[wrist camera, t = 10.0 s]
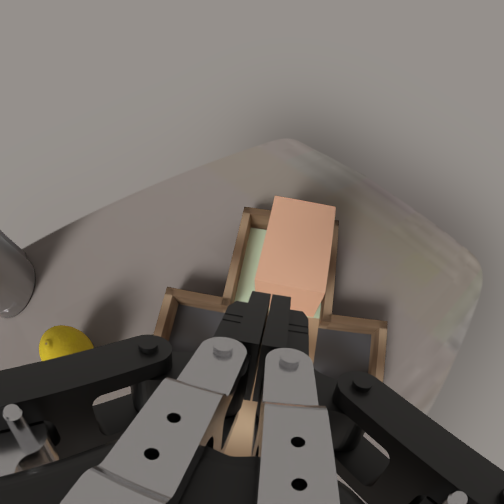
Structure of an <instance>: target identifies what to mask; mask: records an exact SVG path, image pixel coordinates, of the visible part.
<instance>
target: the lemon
mask: <svg viewBox="0 0 504 504" xmlns="http://www.w3.org/2000/svg"><path fill="white" fill-rule="evenodd" d="M93 348H94V347H93V344H92V343H91V341H90V340H89V338H88V337H87V336H86V335H85V334H84V333H82V332H81V331H79V330H77V329H75V328H73V327H69V326H63V325H60V326H54V327H52V328H50V329H48V330H47V331H46V332H45V333H44V334H43V336H42V338H41V340H40V344H39V354H40V357H41V360H42V361H45V360H49V359H53V358H57V357H61V356H65V355H69V354H73V353H77V352H81V351H85V350H89V349H93Z"/></svg>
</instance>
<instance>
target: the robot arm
mask: <svg viewBox="0 0 504 504" xmlns="http://www.w3.org/2000/svg"><path fill="white" fill-rule="evenodd" d="M34 284H35V273H34V269H33V266H32V264H31V262H29V261H28V260H27V259H26V253H25V252H24V251H23V250H22V249H20V248H19V247H18V246H17V245H16V244H15V243H14V242H12V240H10V239H9V238H8V237H7V236H6V235H5V234H4V233H3V232H2V231H1V230H0V316H2V317H5V318H10V317H13V316H15V315H17V314H18V313H20V312H21V311H22V310H23V309H24V307H25V306H26V305H27V303H28V301H29V299H30V297H31V295H32V292H33V288H34ZM270 298H271V294H269V293H263V292H257V291H252V293H251V296H250V298H249V301H248V303H247V302H241V301H235V302H234V303H232V304H230V305H229V306H228V307H227V310H226V312H225V314H224V316H223V318H222V320H221V322H220V324H219V326H218V328H217V330H216V332H215V334H214V336H213V338H209V339H207V340H205V341H203V342H202V343H201V345H200V346H199V347H198V349H197V350H196V351H192V352H172V346H171V344H170V343H169V341H167V340H166V339H164V338H162V337H160V336H156V335H141V336H137V337H133V338H129V339H126V340H122V341H119V342H115V343H111V344H108V345H104V346H100V347H96V348H93V349H89V350H85V351H81V352H77V353H73V354H69V355H65V356H61V357H57V358H53V359H49V360H45V361H41V362H37V363H32V364H28V365H24V366H19V367H15V368H10V369H6V370H1V371H0V504H365V503H364V502H363V501H362V500H361V499H360V498H359V497H358V496H357V495H356V494H355V493H354V492H353V491H352V490H351V489H350V488H348V487H347V486H346V485H344V484H343V483H341V482H340V481H338V480H337V474H338V475H339V476H340V477H341V478H342V479H343V480H344V481H345V482H346V483H347V484H348V485H349V486H350V487H351V488H352V489H353V490H354V491H355V492H356V493H357V494H358V495H359V496H360V497H361V498H362V499H363V500H364V501H366V502H367V503H368V504H504V471H503V470H501V469H500V468H499V467H497V466H496V465H494V464H493V463H491V462H490V461H489V460H487V459H486V458H484V457H483V456H482V455H480V454H479V453H477V452H476V451H474V450H473V449H472V448H470V447H469V446H467V445H466V444H465V443H464V442H462V441H461V440H459V439H458V438H457V437H455V436H454V435H453V434H451V433H450V432H448V431H447V430H446V429H444V428H443V427H442V426H440V425H439V424H437V423H436V422H435V421H433V420H432V419H431V418H429V417H428V416H427V415H425V414H424V413H423V412H421V411H420V410H419V409H417V408H416V407H415V406H413V405H412V404H411V403H409V402H408V401H407V400H405V399H404V398H403V397H401V396H400V395H399V394H397V393H396V392H395V391H393V390H392V389H391V388H389V387H388V386H387V385H385V384H384V383H383V382H381V381H380V380H379V379H377V378H376V377H374V376H373V375H371V374H368V373H365V372H361V371H350V372H346V373H344V374H342V375H341V376H340V377H339V379H338V380H337V379H334V378H331V377H328V376H326V375H323V374H321V373H320V372H318V371H317V370H316V369H314V367H313V362H312V360H311V358H310V357H309V335H308V334H309V328H308V327H309V319H308V318H307V316H306V315H305V314H304V312H303V311H297V310H290V306H291V297H288V296H282V295H275V294H273V295H272V299H271V304H270ZM269 305H270V308H269ZM268 311H269V313H268ZM256 373H257V375H256ZM255 377H256V381H255ZM254 382H255V387H254V393H253V399H252V401H255V402H258V403H257V408H256V414H255V419H254V427H253V437H252V447H251V456H248V457H234V456H229V455H226V454H224V451H225V449H226V446H227V444H228V441H229V439H230V436H231V434H232V431H233V429H234V426H235V424H236V421H237V418H238V414H239V410H240V409H241V407H242V403H243V400H249V401H250V399H251V395H252V390H253V386H254ZM128 386H130V387H131V394H129V395H126V396H123V397H120V398H117V399H114V400H111V401H108V402H105V403H101V404H98V405H95V406H92V405H93V402H94V400H95V399H96V398H97V397H99V396H101V395H104V394H107V393H110V392H113V391H116V390H119V389H122V388H125V387H128ZM365 432H366V433H367V434H368V435H369V436H370V437H372V438H373V439H374V440H375V441H376V442H377V443H378V444H380V445H381V446H382V447H383V448H384V449H385V450H386V451H387V452H388V454H389V457H390V459H388V458H387V457H386V456H385V455H384V454H383V453H382V452H380V451H379V450H378V449H377V448H376V447H375V446H374V445H372V444H371V443H370V442H369V441H368V440H367V439H366V438H365V437H363V435H364V433H365ZM336 473H337V474H336Z"/></svg>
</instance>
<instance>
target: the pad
mask: <svg viewBox="0 0 504 504" xmlns="http://www.w3.org/2000/svg"><path fill="white" fill-rule="evenodd" d="M266 231H267V230H264V229H257V228H251V229H250V233H249V238H248V242H247V247H246V251H245V256H244V260H243V265H242V269H241V274H240V278H239V283H238V287H237V292H236V296H235V301H241V302H247V303H248V301H249V298H250V296H251V293H252V291H255V276H256V272H257V268H258V264H259V260H260V256H261V251H262V247H263V243H264V239H265V235H266ZM235 301H234V302H235ZM320 309H321V303H320V305H319V307H318V309H317V311H316V313H315V315H314V317H310V318H318V319H319V317H320ZM307 317H308V316H307Z"/></svg>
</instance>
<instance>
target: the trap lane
mask: <svg viewBox="0 0 504 504" xmlns="http://www.w3.org/2000/svg"><path fill="white" fill-rule="evenodd" d="M270 215H271V210H265V209H257V208H250V207H244V211H243V215H242V219H241V223H240V227H239V231H238V235H237V239H236V244H235V248H234V252H233V256H232V260H231V264H230V268H229V273H228V277H227V281H226V285H225V289H224V294H223V297H219V296H213V295H208V294H202V293H197V292H192V291H186V290H181V289H176V288H171V287H167V289H166V293H165V296H164V299H163V303H162V306H161V310H160V313H159V317H158V320H157V324H156V327H155V331H154V335H156V336H160V337H162V338H164V339H166V340H167V341H169V343H170V344H171V346H172V352H192V351H196V350H197V349H198V347H199V346H200V345H201V343H202V342H203V341H205V340H207V339H209V338H213V336H214V334H215V332H216V330H217V328H218V326H219V324H220V322H221V320H222V318H223V316H224V314H225V312H226V310H227V307H228V306H229V305H230V304H232V303H234V301H235V296H236V292H237V287H238V283H239V278H240V274H241V269H242V265H243V260H244V256H245V251H246V247H247V242H248V238H249V233H250V229H251V228H257V229H264V230H267V227H268V223H269V219H270ZM338 225H339V221H338V220H334V229H333V238H332V247H331V255H330V262H329V270H328V277H327V284H326V291H325V295H324V297H323V299H322V301H321V309H320V317H319V319H318V318H310V317H307V318H308V319H309V327H308V328H309V334H308V335H309V357H310V358H311V360H312V362H313V367H314V369H316V370H317V371H318V372H320V373H321V374H323V375H326V376H328V377H331V378H334V379H337V380H338V379H339V377H340V376H341V375H342V374H344V373H346V372H350V371H361V372H365V373H368V374H371V375H373V376H374V377H376V378H377V379H379V380H380V381H381V382H383V376H384V365H385V353H386V339H387V321H381V320H372V319H364V318H356V317H348V316H341V315H333V314H332V305H333V295H334V284H335V272H336V258H337V243H338ZM268 313H269V311H268ZM256 375H257V373H256ZM255 381H256V377H255ZM254 387H255V382H254V386H253V390H252V395H251V399H250V401H249V400H243V403H242V407H241V409H240V410H239V414H238V418H237V421H236V424H235V426H234V429H233V431H232V434H231V436H230V439H229V441H228V444H227V446H226V449H225V451H224V454H226V455H229V456H234V457H248V456H251V447H252V437H253V427H254V419H255V414H256V408H257V403H258V402H255V401H252V399H253V393H254Z"/></svg>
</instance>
